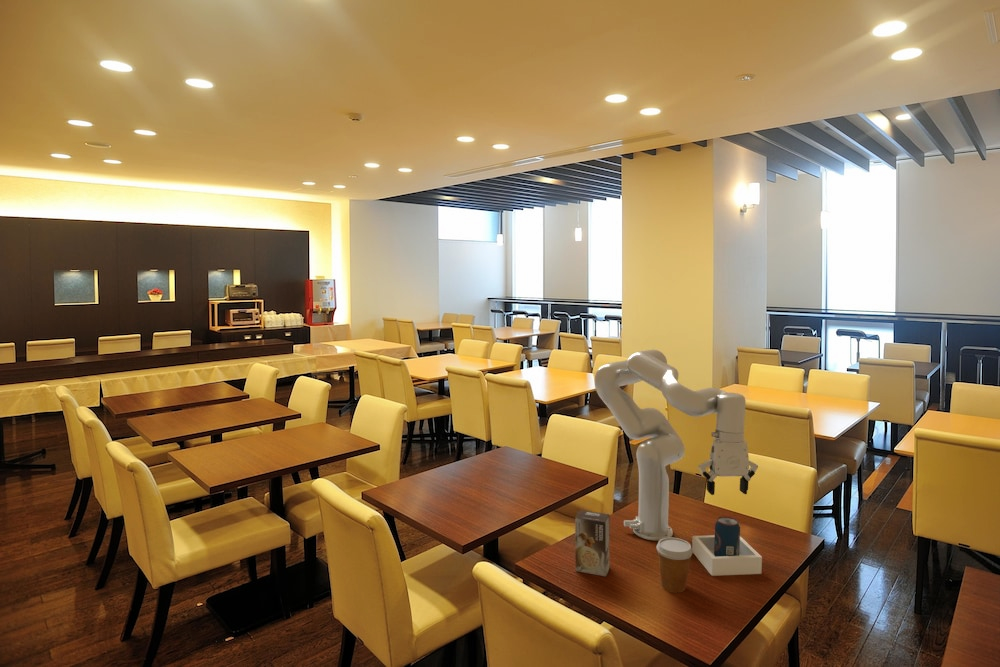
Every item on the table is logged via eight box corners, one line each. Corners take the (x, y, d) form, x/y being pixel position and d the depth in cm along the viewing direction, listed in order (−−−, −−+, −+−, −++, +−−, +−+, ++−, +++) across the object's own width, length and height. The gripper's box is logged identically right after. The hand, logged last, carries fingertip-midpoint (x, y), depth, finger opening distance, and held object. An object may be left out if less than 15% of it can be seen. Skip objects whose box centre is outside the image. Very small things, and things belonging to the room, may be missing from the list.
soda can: (711, 553, 177) (712, 515, 176) (735, 554, 176) (736, 516, 175) (716, 564, 170) (718, 524, 169) (741, 566, 169) (743, 526, 168)
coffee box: (610, 566, 171) (611, 513, 169) (605, 577, 165) (606, 522, 163) (579, 561, 174) (579, 509, 173) (574, 571, 168) (574, 517, 167)
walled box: (711, 575, 166) (712, 558, 165) (692, 551, 180) (692, 535, 179) (761, 573, 166) (762, 557, 166) (737, 549, 181) (738, 534, 180)
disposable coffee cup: (686, 599, 154) (687, 556, 152) (650, 589, 159) (651, 547, 157) (695, 583, 162) (696, 541, 160) (661, 574, 167) (662, 533, 165)
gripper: (705, 440, 165) (703, 498, 167) (765, 439, 166) (762, 497, 168) (695, 432, 172) (693, 488, 174) (752, 431, 173) (749, 487, 175)
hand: (727, 492), depth 171 cm, fingers open, 9 cm apart
